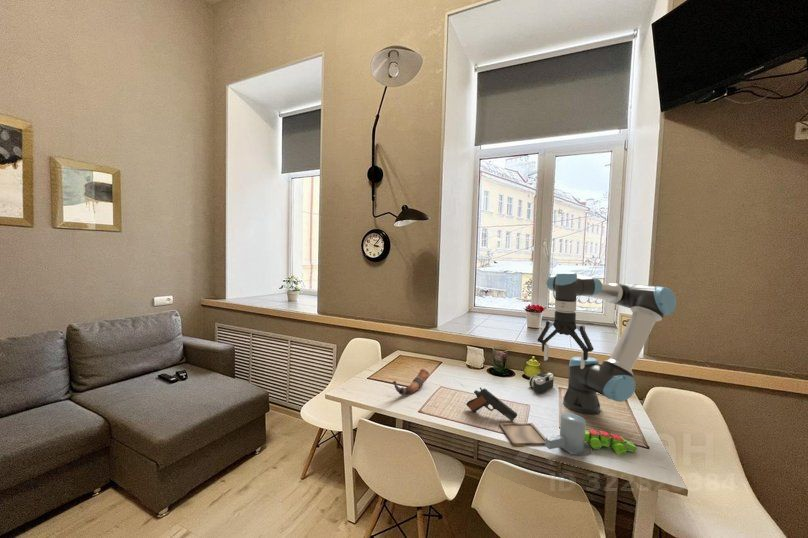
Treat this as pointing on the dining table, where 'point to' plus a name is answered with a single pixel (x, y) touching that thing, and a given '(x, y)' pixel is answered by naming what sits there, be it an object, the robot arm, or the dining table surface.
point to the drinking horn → (413, 383)
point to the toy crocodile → (609, 441)
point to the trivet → (587, 450)
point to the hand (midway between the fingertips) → (563, 363)
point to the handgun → (487, 398)
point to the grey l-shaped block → (569, 434)
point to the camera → (541, 382)
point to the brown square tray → (522, 434)
